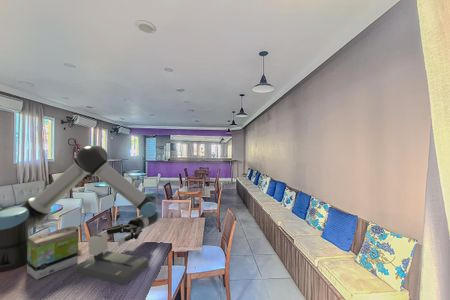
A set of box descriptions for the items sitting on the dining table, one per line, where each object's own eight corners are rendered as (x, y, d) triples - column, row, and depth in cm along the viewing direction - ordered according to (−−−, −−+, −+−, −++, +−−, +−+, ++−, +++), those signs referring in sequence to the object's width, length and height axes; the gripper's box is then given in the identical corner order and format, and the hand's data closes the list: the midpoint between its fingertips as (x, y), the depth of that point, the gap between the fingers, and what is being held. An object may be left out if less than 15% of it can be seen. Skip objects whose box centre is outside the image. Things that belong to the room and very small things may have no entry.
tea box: (36, 281, 84) (36, 243, 84) (26, 272, 89) (26, 237, 89) (78, 263, 97) (78, 230, 96) (68, 257, 102) (68, 226, 102)
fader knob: (88, 261, 92) (88, 237, 92) (100, 254, 98) (100, 232, 98) (96, 262, 91) (96, 238, 91) (107, 255, 97) (107, 233, 97)
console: (75, 273, 89) (75, 265, 89) (103, 256, 103) (103, 250, 103) (124, 285, 82) (124, 277, 82) (148, 265, 95) (148, 258, 95)
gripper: (157, 233, 115) (129, 252, 94) (119, 228, 122) (85, 244, 102) (157, 219, 115) (129, 235, 94) (119, 215, 122) (85, 228, 101)
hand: (106, 240), depth 98 cm, fingers open, 13 cm apart
